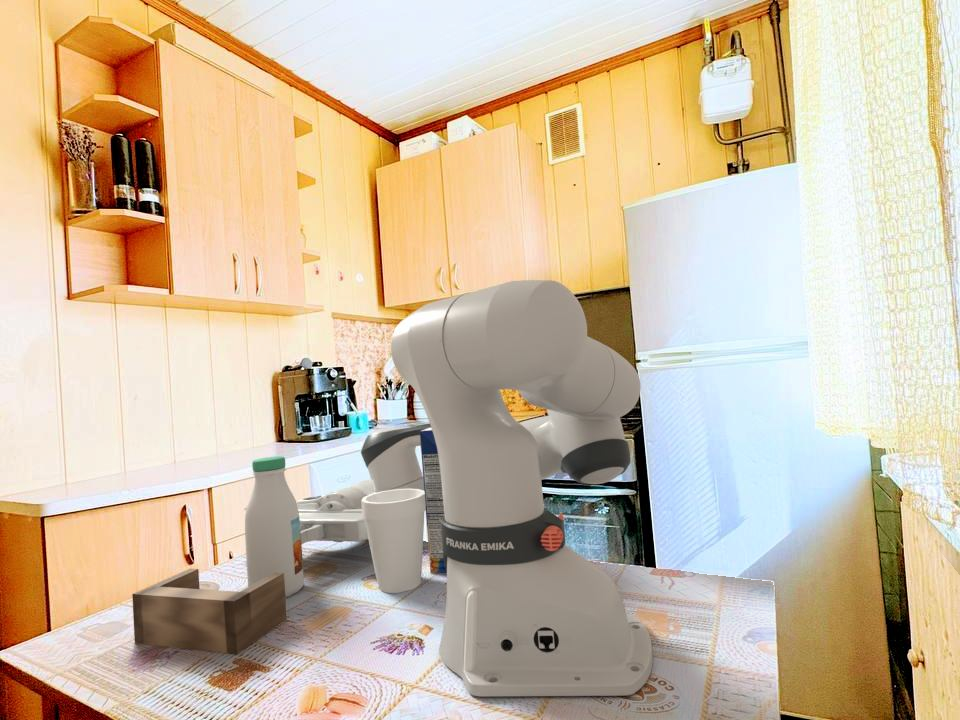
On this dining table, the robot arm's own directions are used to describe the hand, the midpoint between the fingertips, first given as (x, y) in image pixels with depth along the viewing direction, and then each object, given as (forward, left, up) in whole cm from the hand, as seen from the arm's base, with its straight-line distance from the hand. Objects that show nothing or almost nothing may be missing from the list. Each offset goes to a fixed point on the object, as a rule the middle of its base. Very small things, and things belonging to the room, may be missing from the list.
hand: (291, 539), depth 79 cm
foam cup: (-18, -1, -7) cm, 19 cm away
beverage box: (-24, -11, -7) cm, 27 cm away
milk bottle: (0, +4, -7) cm, 8 cm away
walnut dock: (0, +16, -7) cm, 17 cm away
